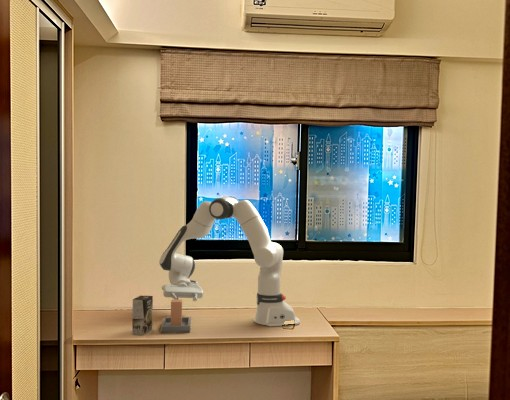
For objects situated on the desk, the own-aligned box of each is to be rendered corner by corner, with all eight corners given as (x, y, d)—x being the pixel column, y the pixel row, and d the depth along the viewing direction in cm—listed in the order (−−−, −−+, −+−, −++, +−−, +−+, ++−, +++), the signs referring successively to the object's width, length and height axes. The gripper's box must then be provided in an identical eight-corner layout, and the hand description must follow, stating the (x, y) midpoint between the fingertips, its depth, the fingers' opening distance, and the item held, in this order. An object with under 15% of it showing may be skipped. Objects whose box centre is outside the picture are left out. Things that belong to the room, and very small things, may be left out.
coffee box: (145, 335, 234) (145, 299, 234) (131, 334, 235) (131, 299, 235) (153, 329, 243) (153, 295, 242) (140, 328, 244) (140, 294, 244)
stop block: (181, 324, 249) (182, 299, 249) (181, 327, 244) (181, 301, 244) (171, 324, 249) (171, 299, 248) (170, 327, 244) (170, 301, 244)
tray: (190, 323, 255) (190, 317, 255) (189, 332, 239) (189, 326, 239) (163, 323, 254) (163, 317, 254) (161, 333, 238) (161, 326, 238)
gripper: (161, 279, 266) (166, 293, 254) (200, 281, 274) (206, 294, 262) (159, 290, 268) (164, 304, 256) (198, 292, 276) (204, 305, 263)
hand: (186, 299), depth 259 cm, fingers open, 8 cm apart
